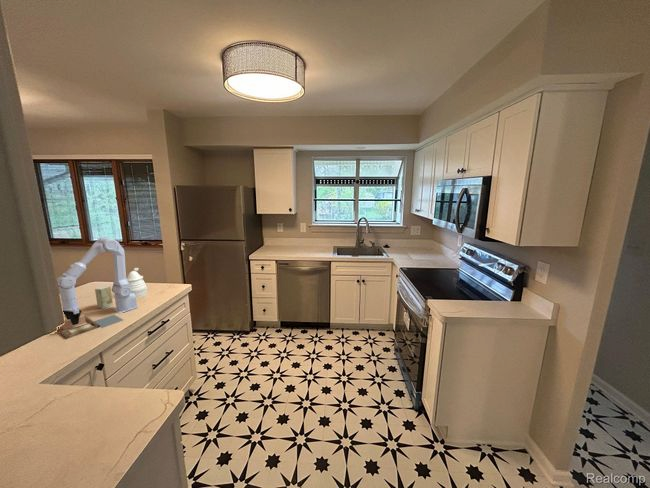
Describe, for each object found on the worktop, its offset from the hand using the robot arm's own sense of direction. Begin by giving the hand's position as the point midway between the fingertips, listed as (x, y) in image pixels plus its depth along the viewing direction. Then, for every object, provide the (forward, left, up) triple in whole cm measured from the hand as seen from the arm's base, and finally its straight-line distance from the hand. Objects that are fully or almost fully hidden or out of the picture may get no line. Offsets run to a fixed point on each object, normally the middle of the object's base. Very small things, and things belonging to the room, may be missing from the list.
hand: (73, 323), depth 137 cm
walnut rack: (0, +4, -2) cm, 4 cm away
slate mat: (-12, +8, -2) cm, 14 cm away
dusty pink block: (0, 0, -2) cm, 2 cm away
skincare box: (-19, -14, -2) cm, 24 cm away
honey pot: (-38, -20, -2) cm, 43 cm away
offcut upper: (0, +9, -2) cm, 9 cm away
